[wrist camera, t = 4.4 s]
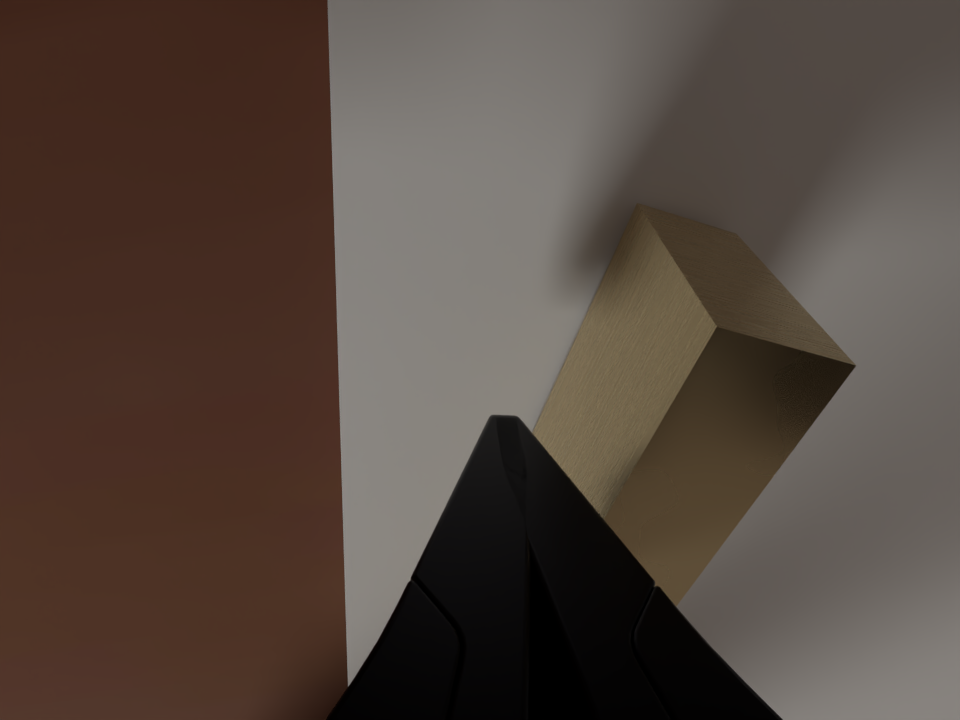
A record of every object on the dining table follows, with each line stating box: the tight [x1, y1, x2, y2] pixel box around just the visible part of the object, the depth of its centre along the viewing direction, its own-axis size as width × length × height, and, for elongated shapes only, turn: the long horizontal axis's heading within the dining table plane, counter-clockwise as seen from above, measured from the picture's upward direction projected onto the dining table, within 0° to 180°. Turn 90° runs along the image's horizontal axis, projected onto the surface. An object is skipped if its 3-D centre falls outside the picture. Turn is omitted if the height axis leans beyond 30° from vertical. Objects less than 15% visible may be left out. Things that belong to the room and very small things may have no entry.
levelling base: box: [328, 0, 960, 720], centre depth 14 cm, size 24×18×3 cm
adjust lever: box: [533, 203, 856, 606], centre depth 12 cm, size 17×4×4 cm, turn 163°
